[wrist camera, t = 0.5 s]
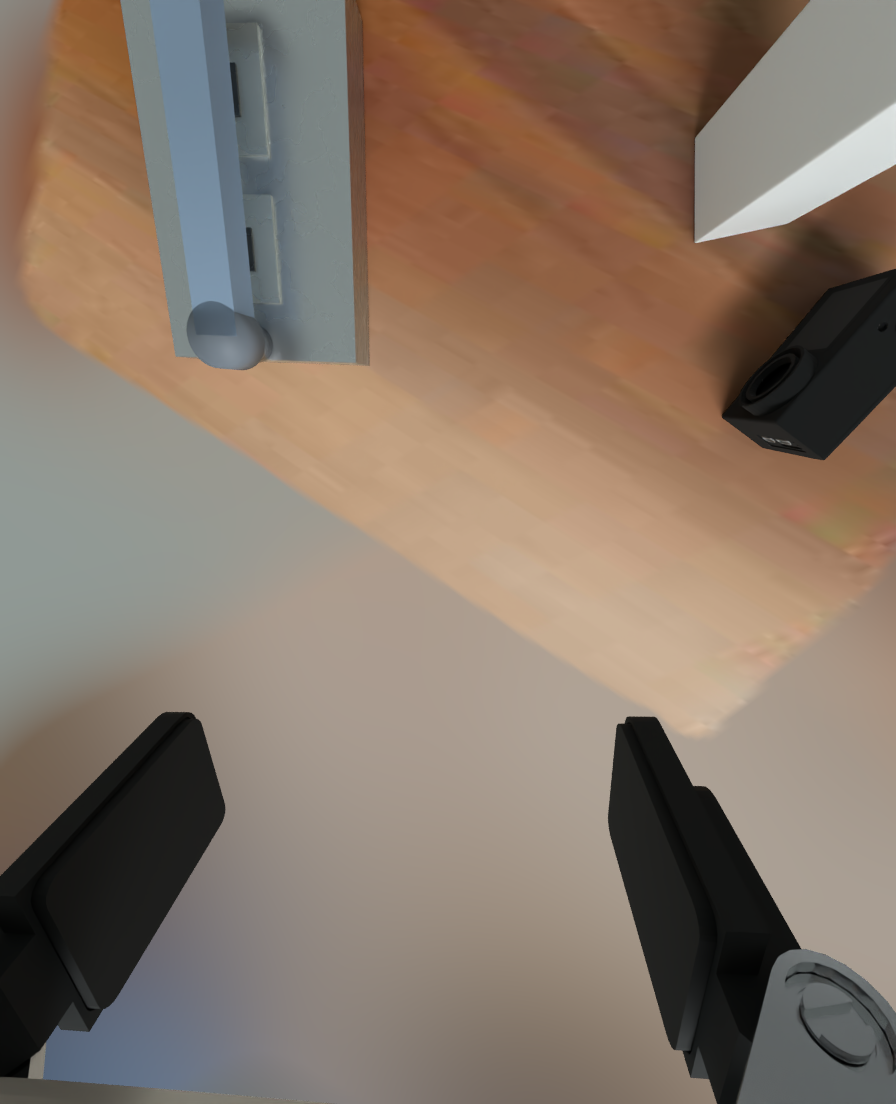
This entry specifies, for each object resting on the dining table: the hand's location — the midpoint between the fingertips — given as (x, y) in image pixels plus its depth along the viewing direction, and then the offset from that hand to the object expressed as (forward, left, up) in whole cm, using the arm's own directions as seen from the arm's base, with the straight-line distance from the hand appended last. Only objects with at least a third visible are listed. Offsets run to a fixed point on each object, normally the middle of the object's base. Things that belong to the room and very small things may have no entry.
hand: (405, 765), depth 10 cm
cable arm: (-19, -15, -23) cm, 33 cm away
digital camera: (-10, +23, -30) cm, 39 cm away
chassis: (-19, -14, -30) cm, 38 cm away
